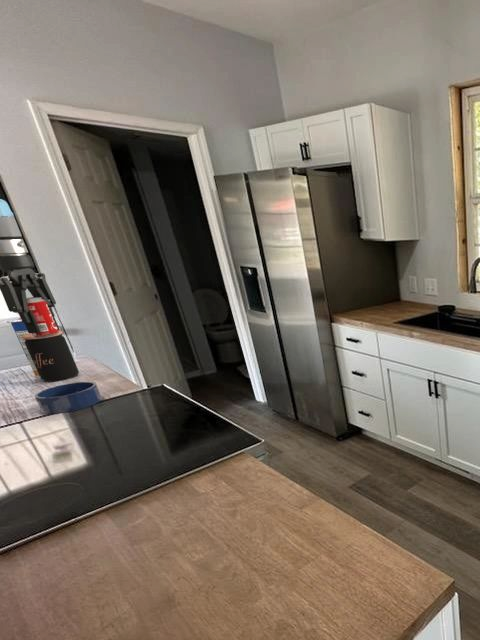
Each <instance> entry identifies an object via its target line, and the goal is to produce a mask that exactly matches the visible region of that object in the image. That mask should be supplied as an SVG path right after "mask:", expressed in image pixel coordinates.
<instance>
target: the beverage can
mask: <svg viewBox="0 0 480 640" xmlns="http://www.w3.org/2000/svg"><path fill="white" fill-rule="evenodd" d="M26 298H27V305H28V312H32V313H33V315H34V318H35V320H36V322H37V324H38V327H39V329H40V331H41V332H40V333H32V335H33V336H34V337H36V338H42V337H50V336H55V335H57V334H58V332H59V331H58V330H59V328H57V327H56V324H55V322H54V319H53V317H52V315H51V312H50V310H49V308H48V305H47V303H46V301H45V300H43V299H41V297H33V296H32V297H26ZM21 308H22V307H21Z"/></svg>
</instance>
